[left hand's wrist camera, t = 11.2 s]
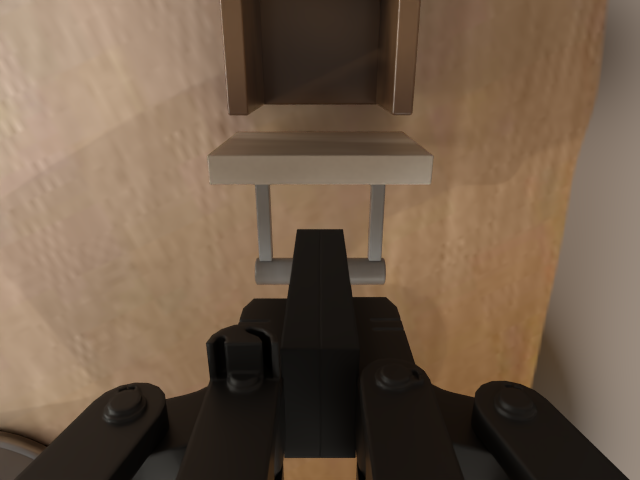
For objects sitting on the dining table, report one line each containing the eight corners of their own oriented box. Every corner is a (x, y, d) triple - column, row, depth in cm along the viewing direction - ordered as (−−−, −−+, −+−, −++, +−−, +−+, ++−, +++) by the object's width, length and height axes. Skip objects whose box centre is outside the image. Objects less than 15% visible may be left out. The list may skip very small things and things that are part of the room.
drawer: (395, 245, 26) (419, 302, 20) (245, 245, 26) (220, 302, 20) (427, -233, 18) (486, -395, 12) (212, -233, 18) (154, -395, 12)
